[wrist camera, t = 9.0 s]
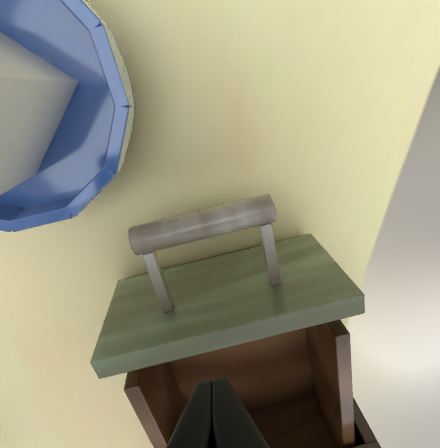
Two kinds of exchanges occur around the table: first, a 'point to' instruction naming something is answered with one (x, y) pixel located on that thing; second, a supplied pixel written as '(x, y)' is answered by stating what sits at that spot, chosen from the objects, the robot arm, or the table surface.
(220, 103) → the table surface
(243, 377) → the drawer
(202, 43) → the table surface
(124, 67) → the blue bowl
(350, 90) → the table surface
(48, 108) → the white block
